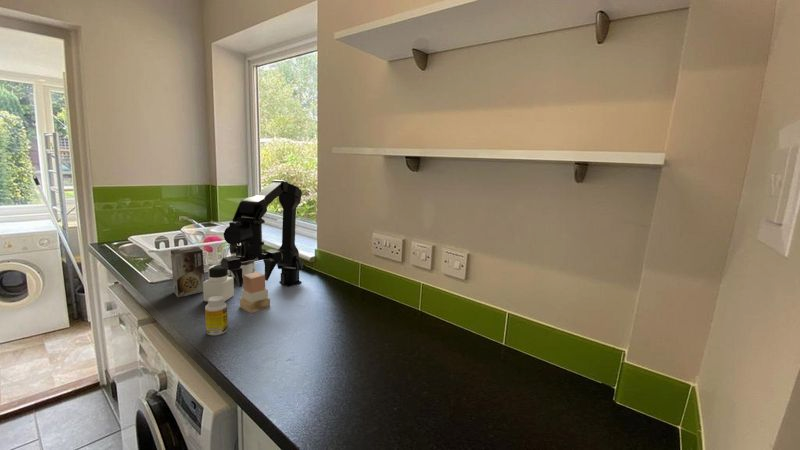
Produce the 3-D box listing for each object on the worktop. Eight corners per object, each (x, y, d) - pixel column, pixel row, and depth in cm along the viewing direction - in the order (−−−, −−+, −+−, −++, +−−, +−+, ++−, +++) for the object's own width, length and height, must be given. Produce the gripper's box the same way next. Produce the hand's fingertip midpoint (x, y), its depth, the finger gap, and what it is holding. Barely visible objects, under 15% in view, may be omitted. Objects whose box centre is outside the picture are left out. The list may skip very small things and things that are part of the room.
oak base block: (259, 302, 124) (259, 292, 123) (270, 307, 119) (269, 298, 119) (239, 307, 118) (239, 297, 118) (250, 313, 114) (250, 303, 113)
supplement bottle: (226, 335, 99) (225, 301, 97) (204, 337, 97) (202, 302, 95) (228, 326, 104) (227, 293, 103) (208, 328, 102) (206, 295, 101)
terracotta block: (257, 285, 121) (256, 271, 120) (265, 289, 118) (265, 275, 117) (243, 289, 117) (243, 275, 116) (251, 293, 114) (251, 278, 114)
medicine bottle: (234, 295, 127) (233, 263, 125) (222, 303, 120) (221, 269, 118) (216, 293, 128) (214, 262, 126) (203, 301, 121) (201, 268, 119)
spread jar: (247, 282, 141) (246, 254, 139) (219, 281, 141) (218, 253, 139) (259, 273, 153) (259, 247, 151) (233, 272, 153) (233, 246, 151)
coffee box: (200, 287, 134) (198, 246, 131) (205, 291, 129) (203, 249, 126) (172, 292, 127) (170, 249, 125) (177, 297, 123) (174, 253, 120)
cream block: (258, 293, 122) (258, 285, 122) (268, 297, 119) (267, 289, 118) (242, 297, 118) (241, 289, 117) (251, 302, 114) (250, 294, 114)
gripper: (265, 231, 127) (266, 272, 129) (212, 237, 112) (214, 283, 115) (283, 236, 120) (283, 279, 122) (228, 244, 105) (230, 293, 108)
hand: (253, 283), depth 117 cm, fingers open, 9 cm apart
